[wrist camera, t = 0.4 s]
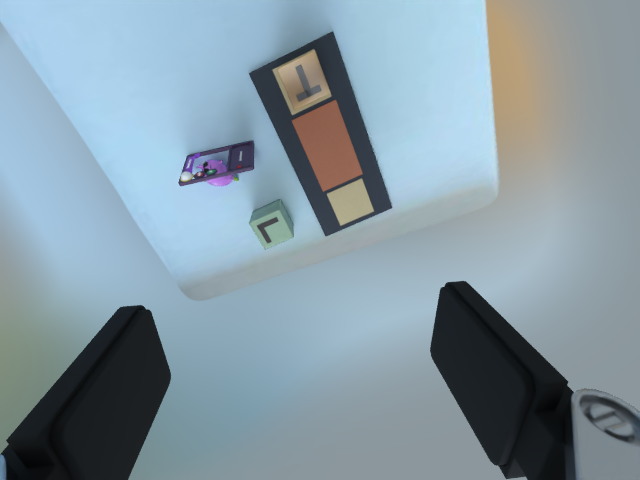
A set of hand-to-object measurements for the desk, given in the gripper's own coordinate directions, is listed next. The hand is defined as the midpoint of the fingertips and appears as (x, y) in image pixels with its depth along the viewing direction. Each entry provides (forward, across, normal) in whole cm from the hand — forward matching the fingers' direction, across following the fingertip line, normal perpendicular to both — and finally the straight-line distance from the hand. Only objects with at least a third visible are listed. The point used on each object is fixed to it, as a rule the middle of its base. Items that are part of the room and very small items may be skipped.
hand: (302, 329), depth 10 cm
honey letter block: (+33, -2, -9) cm, 35 cm away
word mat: (+34, -5, -2) cm, 35 cm away
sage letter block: (+34, +3, +8) cm, 36 cm away
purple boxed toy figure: (+34, +9, 0) cm, 36 cm away
